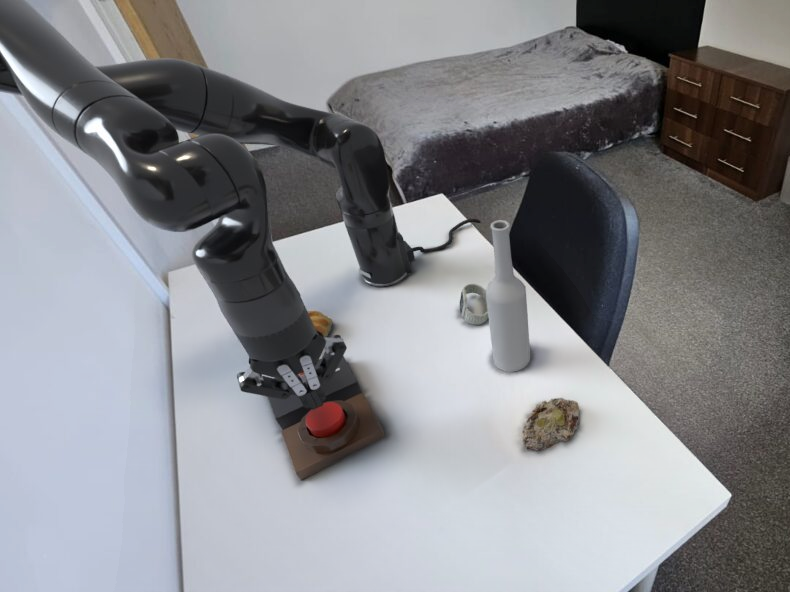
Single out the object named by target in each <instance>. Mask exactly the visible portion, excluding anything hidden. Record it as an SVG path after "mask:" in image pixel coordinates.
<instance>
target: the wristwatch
mask: <svg viewBox="0 0 790 592" xmlns="http://www.w3.org/2000/svg"><path fill="white" fill-rule="evenodd" d="M469 294H475V295H478V296H480V297H481V298H482V300H484V301H483V302H484V303H485V310H486V311H485V312H484V314H483V313H482V314H475V313H473V312H471V311H470V309H468V296H467V295H469ZM459 311H460V316H461V317H462V318H463V319H464V320H465V322H467V323H469V324H471V325H476V326H477V325H478V326H479V325H482V324H484V323H486V322H487V321H488V320H489V317H488V308H487V300H486V288H485V287H483V286H482V285H479V284H477V283H467V284H465V285H464V286H463V288H462V289H461V292H460V297H459Z"/></svg>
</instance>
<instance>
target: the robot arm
mask: <svg viewBox="0 0 790 592" xmlns="http://www.w3.org/2000/svg"><path fill="white" fill-rule="evenodd" d="M0 93H4V94H5V93H6V94H11V95H14V96H15V95H16V96H20V97H23V98H24V100H25V101H26V102H27V104H28V105H29V107H30V108H31V110H32V111H34V113H35V114H36V115H37V117H39V119H40V120H41V121H42V122H43V123H44V124H45V125H46V126H47V127H48V128H50V130H52V131H53V132H54V133H56V134H57V135H59V136H60V137H61V138H63V140H65V141H66V142H68V143H70V144H71V145H72V146H74V147H75V148H76V149H78V150H79V151H81V152H82V153H84V154H85V155H87V156H89V158H91V159H93V160H94V161H95V162H96V163H98V164H99V166H101V167H102V168H103V169H104V171H105V172H106V173H107V174H108V175H109V176H110V178H111V179H112V180H113V181H114V183H115V184H116V185H117V186H118V188H119V190H120V191H121V193H122V194H123V196H124V198H125V200H126V201H127V203H128V204H129V206H130V207H131V208H132V209H133V211H135V213H136V214H137V215H138V217H140V218H141V219H142V220H143V221H145V222H146V223H147V224H149V225H151V226H153V227H154V228H157V229H159V230H163V231H167V232H172V233H187V232H190V231H194V230H196V229H198V228H201V227H202V226H205V225H207V224H209V223H211V222H213V221H215V220H218V221H217V222H216V223H215V225H214V226H213V227H212V228H210V230H209V231H207V232H206V233H205V234H204V235H203V236H202V237H201V238H199V240H197V241H196V242H195V244H194V246H193V248H192V250H191V257H192V260H193V263H194V265H195V267H196V268H197V270H198V272H199V273H200V275H201V276H202V278H203V279H204V281H205V283H206V284H207V286H208V287H209V289H210V292H211V293H212V294H213V295H214V297H215V299H216V302H217V304H218V307H219V309H220V312H221V314H222V315H223V317H224V318H225V321H226V322H227V324H228V325H229V327H230V328H231V330H232V331H233V333H234V335H235V336H236V338H237V339H238V341H239V342H240V344H241V346H242V347H243V349H244V351H245V352H246V354H247V355H248V364H249V367H248V368H247V369H246V371H241V372H238V373H237V375H236V379H237V382H238V386H239V390H240V392H243V393H247V394H252V395H257V396H263V397H267V398H268V397H272V398H278V399H287V398H288V397H289V396H290V395H297V396H298V397H299V399H300V401H301V402H302V404H303V406H304V407H305V408H307V409H308V408H310V407H311V408H312V410H314V409H316V408H318V407H321V406H323V403H322V402H323V401H325V400H326V396H325V394H324V391H323V389H322V388H321V386H320V385H321V383H322V382H323V381H328V380H330V379H331V378H332V377H333V375H334V373H335V371H336V369H337V367H338V365H339V363H340V361H341V359H342V357H343V356H345V353H346V351H347V349H348V347H347V345H346V343H345V340H344V339H343V337H342V336H341V335H340V334H334V335H333V336H332V337H329V336H327V337H324V336H323V334H322V333H321V332H319V331H317V330H316V329H315V327H314V324H313V322H312V320H311V318H310V316H309V314H308V312H307V311H308V310H307V307H306V305H305V303H304V301H303V299H302V297H301V293H300V291H299V290H298V288H297V286H296V284H295V282H294V281H293V280H292V279H291V277H290V275H289V274H288V272H287V271H286V268H285V266H284V264H283V262H282V260H281V258H280V255H279V254H278V251H277V250H276V247H275V245H274V242H273V237H272V236H273V235H272V227H271V219H270V210H269V200H268V189H267V185H266V180H265V176H264V174H263V170H262V169H261V167H260V165H259V162H258V161H257V159H256V158H255V157H254V155H253V154H252V153H251V151H249V149H247V147H246V146H244V145H265V146H267V145H268V146H275V147H278V148H279V147H280V148H284V149H288V150H289V151H290V150H291V151H293V152H297V153H299V154H302V155H305V156H308V157H311V158H312V159H315V160H318V161H320V162H322V163H324V164H326V165H328V166H330V167H331V168H334V169H336V171H337V174H338V178H339V181H340V185H341V186H340V187H339V188H338V189H337V191H336V193H335V197H336V202H337V205H338V209H339V212H340V214H341V217H342V220H343V222H344V226H345V229H346V232H347V235H348V237H349V241H350V243H351V246H352V249H353V252H354V255H355V257H356V261H357V264H358V266H359V268H358V272H359V274H361V277H362V280H363V282H364V283H366V285H369V286H372V287H381V288H383V287H388V286H392V285H396V284H397V283H398V284H399V283H400V282H401V281H403V280H405V278H406V277H407V276H408V275H410V274H412V273H413V272H412V268H411V267H412V266H411V264H410V263H412V262H414V261H416V256H415V253H414V252H417V251H419V252H420V253H423V254H424V253H425V254H426V253H434V252H438V251H441V250H443V249H446V248H447V247H449V246H450V245H451V244H452V243H453V240H454V239H453V234H454V232H455V231H456V230H458V229H459V228H461V227H463V226H464V225H466V224H469V223H477V224H481V223H482V221H481V220H480V219H478V218H468V219H465V220H462V221H460V222H459V223H457V224H455V226H453V227H451V229H450V230H449V232H448V240H447V241H446V242H445V243H442V244H441V245H439V246H435V247H431V248H424V247H423V246H414V247H411V246H410V244H408V242H407V241H406V240H404V237H403V235H402V233H400V231H399V229H398V225H397V224H398V223H397V221H396V216H395V213H394V208H393V205H392V201H391V197H390V189H391V180H390V174H389V169H388V164H387V159H386V155H385V150H384V146H383V144H382V140H381V139H380V137H379V135H378V134H377V132H376V131H375V129H373V128H372V127H371V126H369V125H367V124H365V123H363V122H360V121H358V120H355V119H353V118H351V117H348V116H346V115H343V114H339V113H335V112H334V113H333V112H328V111H324V110H320V109H316V108H315V109H314V108H311V107H306V106H302V105H298V104H295V103H292V102H289V101H286V100H283V99H281V98H279V97H276V96H275V95H273V94H270V93H268V92H267V91H264V90H262V89H260V88H259V87H256V86H254V85H252V84H249V83H248V82H245V81H242V80H240V79H238V78H236V77H233V76H230V75H228V74H225V73H223V72H219V71H216V70H215V69H214V70H213V69H211V68H208V67H205V66H203V65H199V64H196V63H193V62H191V61H189V60H186V59H185V60H184V59H179V58H173V57H172V58H171V57H160V58H149V59H141V60H133V61H128V62H120V63H113V64H106V65H94V64H93V63H91V62H90V60H89V59H87V58H86V56H84V55H83V54H82V53H81V52H80V51H79V50H78V49H77V48H76V47H75V46H74V45H73V44H72V43H71V42H70V41H69V40H68V39H67V38H66V37H65V36H64V35H63V34H62V33H61V32H60V31H59V30H58V29H56V27H54V25H52V24H51V22H50V21H48V20H47V19H46V18H45V17H44V16H43V15H42V14H41V13H40V12H39V11H38V10H37V9H36V8H35V7H33V5H31V3H30V2H28V1H27V0H0ZM179 132H182V133H186V134H190V135H195V137H192V138H189V139H186V140H182V141H180V137H179V134H178V133H179ZM323 351H324V353H323ZM322 353H323V354H322ZM321 358H322V359H321ZM319 359H321V361H320V363H319V365H318V368H317V369H316V370H315V369H314V366H315V365H316V364H317V362H318V360H319ZM303 372H304V375H305V377H306V383H305V382H304V383H303V381H302V379H301V377H300V376H299V374H300V373H303ZM274 378H278V379H274ZM279 379H284V380H285V381H286V382H285V381H283V380H279ZM306 384H307V385H306ZM307 386H308V387H307ZM317 406H318V407H317Z"/></svg>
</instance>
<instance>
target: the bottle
mask: <svg viewBox="0 0 790 592" xmlns="http://www.w3.org/2000/svg"><path fill="white" fill-rule="evenodd" d="M510 228H511V224H510V223H509V222H508V220H503V219H499V220H495V221H493V222H491V223H490V229H491V234H492V245H493V254H494V278H493V279H491V281H489V283H488V284H487V286H486V288H485V290H486V300H487V308H488V324H489V325H488V326H489V333H490V341H491V350H492V357H493V363H494V365H495V367H496V368H497V369H499V370H501V371H503V372H508V373H511V372H512V373H513V372H518V371H521V370H523V369H524V368H526V367H527V366H528V365H529V363H530V361H531V347H530V346H531V344H530V343H531V342H530V330H529V329H530V328H529V317H528V316H529V315H528V303H527V299H528V298H527V288H526V285H525V284H524V282H523V281H522V280H521V279H520V278H518V277H517V276H516V275H515V273H514V266H513V261H512V251H511V242H510V231H509V229H510Z"/></svg>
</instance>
